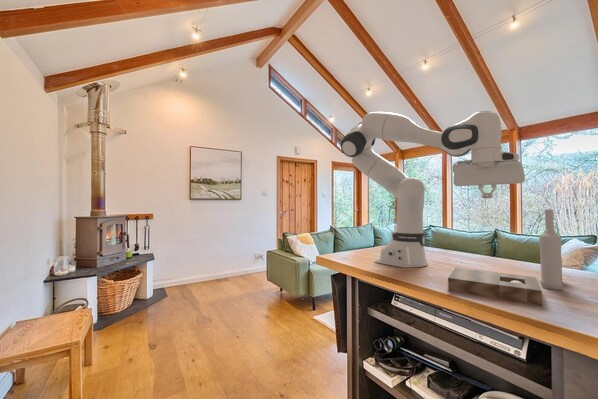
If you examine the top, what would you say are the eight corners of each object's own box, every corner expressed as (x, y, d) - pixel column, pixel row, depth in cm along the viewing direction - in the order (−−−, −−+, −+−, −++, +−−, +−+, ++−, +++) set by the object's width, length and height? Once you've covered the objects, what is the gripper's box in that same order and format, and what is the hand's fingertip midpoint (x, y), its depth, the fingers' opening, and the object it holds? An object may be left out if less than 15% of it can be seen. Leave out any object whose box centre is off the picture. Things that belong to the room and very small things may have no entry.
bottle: (562, 287, 86) (560, 209, 87) (562, 291, 83) (560, 209, 83) (541, 284, 90) (538, 209, 90) (540, 287, 86) (537, 209, 87)
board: (448, 290, 85) (448, 277, 85) (455, 278, 97) (455, 267, 97) (542, 305, 71) (541, 290, 71) (536, 290, 84) (536, 277, 84)
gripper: (451, 160, 97) (451, 198, 97) (524, 153, 85) (525, 197, 85) (453, 162, 102) (454, 198, 102) (523, 156, 90) (524, 197, 90)
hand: (487, 198), depth 93 cm, fingers closed
